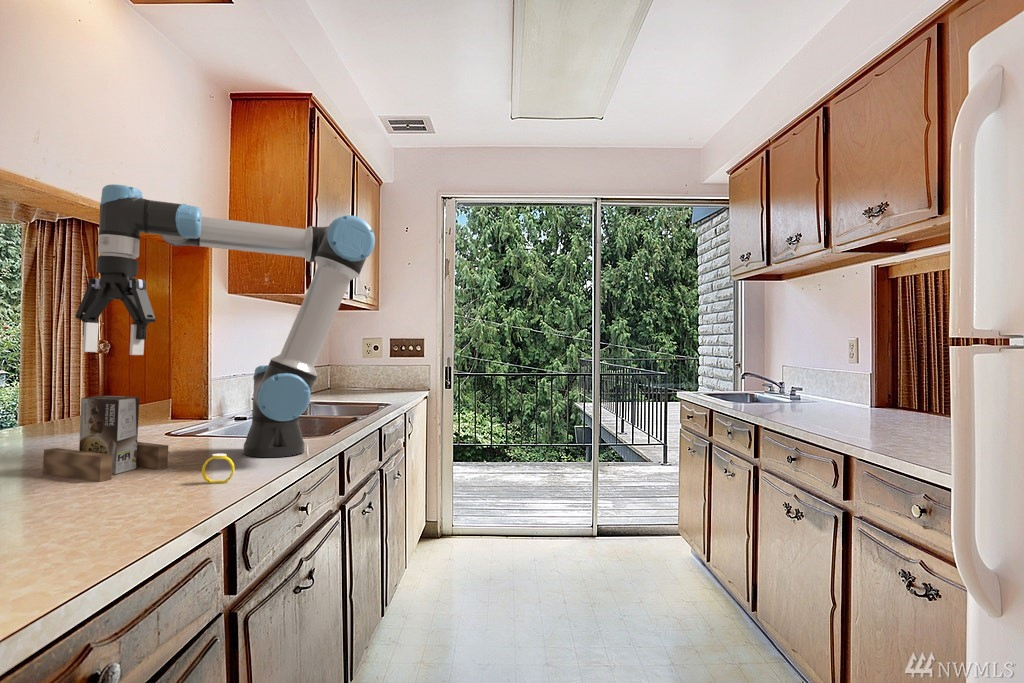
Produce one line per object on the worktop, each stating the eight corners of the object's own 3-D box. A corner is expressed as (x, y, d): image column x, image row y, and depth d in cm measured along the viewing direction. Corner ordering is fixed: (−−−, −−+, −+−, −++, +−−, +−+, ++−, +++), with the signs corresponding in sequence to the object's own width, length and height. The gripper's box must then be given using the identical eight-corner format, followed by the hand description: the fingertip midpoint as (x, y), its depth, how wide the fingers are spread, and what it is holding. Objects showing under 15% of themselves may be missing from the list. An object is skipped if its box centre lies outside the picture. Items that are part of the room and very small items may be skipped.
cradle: (167, 467, 133) (168, 445, 133) (99, 481, 118) (100, 457, 118) (114, 460, 138) (115, 439, 138) (42, 473, 123) (43, 449, 123)
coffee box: (137, 468, 131) (141, 396, 131) (115, 474, 124) (119, 399, 124) (100, 466, 132) (103, 394, 132) (76, 472, 125) (80, 396, 125)
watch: (233, 482, 124) (237, 454, 124) (231, 485, 121) (234, 456, 121) (202, 480, 122) (206, 452, 122) (199, 483, 119) (203, 454, 120)
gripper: (59, 254, 129) (53, 350, 128) (146, 254, 121) (141, 356, 121) (92, 259, 136) (87, 350, 135) (177, 259, 128) (171, 356, 128)
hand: (112, 353), depth 128 cm, fingers open, 13 cm apart
